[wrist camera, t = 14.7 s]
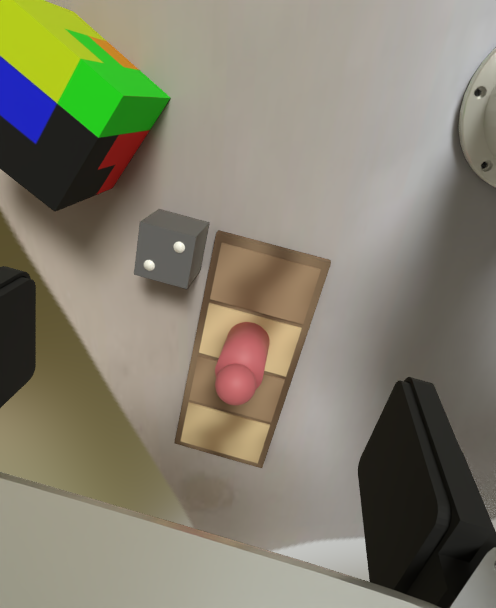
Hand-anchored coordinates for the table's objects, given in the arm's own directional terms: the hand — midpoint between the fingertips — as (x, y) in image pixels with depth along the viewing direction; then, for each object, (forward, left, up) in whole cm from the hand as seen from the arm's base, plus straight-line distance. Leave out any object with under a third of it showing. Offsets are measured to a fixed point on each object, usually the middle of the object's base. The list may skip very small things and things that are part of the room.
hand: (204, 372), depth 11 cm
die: (+9, +8, -30) cm, 33 cm away
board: (0, +20, -30) cm, 36 cm away
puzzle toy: (+18, -2, -31) cm, 36 cm away
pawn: (0, +16, -29) cm, 33 cm away
